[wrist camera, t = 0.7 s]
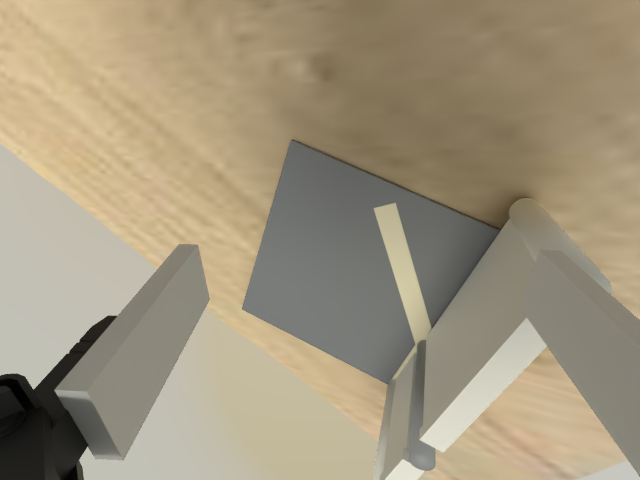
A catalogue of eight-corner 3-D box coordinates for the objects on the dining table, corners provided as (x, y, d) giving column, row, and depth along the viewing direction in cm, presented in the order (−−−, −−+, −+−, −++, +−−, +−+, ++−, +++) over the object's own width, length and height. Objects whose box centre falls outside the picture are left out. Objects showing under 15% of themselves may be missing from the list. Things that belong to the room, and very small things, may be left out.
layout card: (292, 139, 27) (290, 140, 27) (584, 266, 24) (587, 270, 24) (243, 307, 36) (241, 309, 36) (451, 414, 34) (452, 418, 33)
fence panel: (519, 193, 23) (575, 262, 14) (548, 205, 23) (623, 284, 14) (422, 335, 30) (416, 444, 21) (443, 345, 30) (446, 460, 21)
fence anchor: (420, 335, 31) (413, 447, 21) (440, 345, 30) (443, 463, 21) (384, 386, 34) (365, 501, 25) (403, 396, 34) (390, 516, 25)
